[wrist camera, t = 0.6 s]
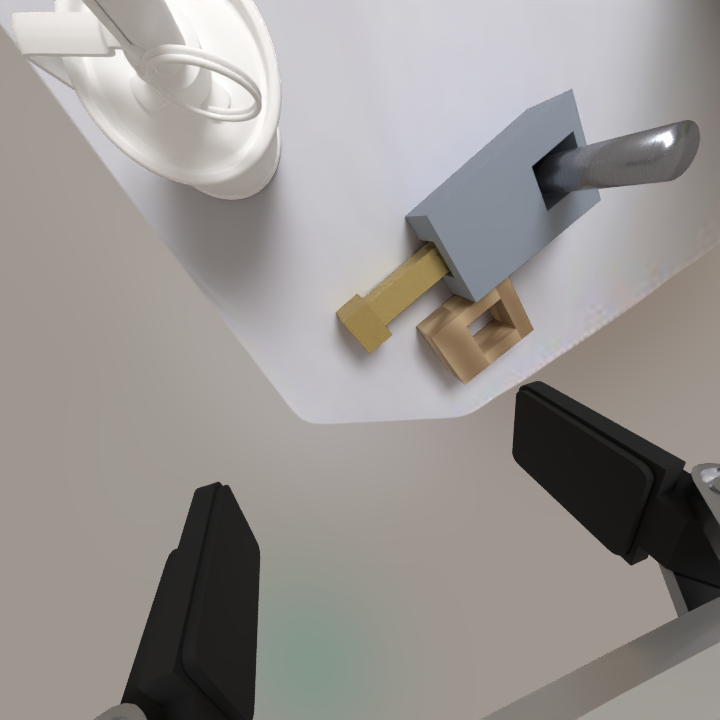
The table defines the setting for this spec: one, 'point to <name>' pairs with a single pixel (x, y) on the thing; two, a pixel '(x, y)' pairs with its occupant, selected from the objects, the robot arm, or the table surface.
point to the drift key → (392, 297)
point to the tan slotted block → (487, 345)
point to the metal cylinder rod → (621, 160)
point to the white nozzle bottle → (170, 84)
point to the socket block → (503, 201)
